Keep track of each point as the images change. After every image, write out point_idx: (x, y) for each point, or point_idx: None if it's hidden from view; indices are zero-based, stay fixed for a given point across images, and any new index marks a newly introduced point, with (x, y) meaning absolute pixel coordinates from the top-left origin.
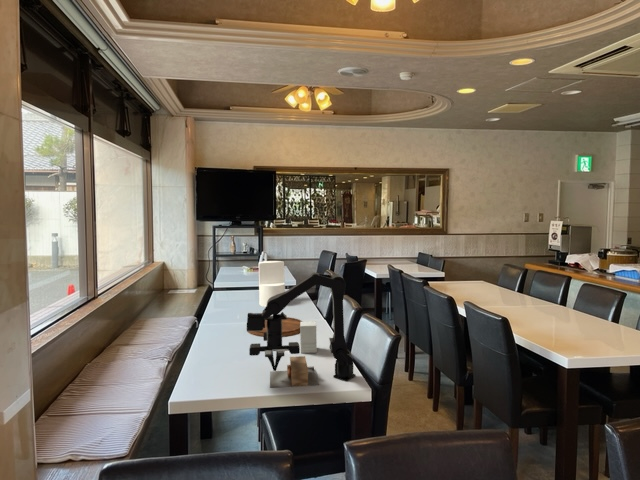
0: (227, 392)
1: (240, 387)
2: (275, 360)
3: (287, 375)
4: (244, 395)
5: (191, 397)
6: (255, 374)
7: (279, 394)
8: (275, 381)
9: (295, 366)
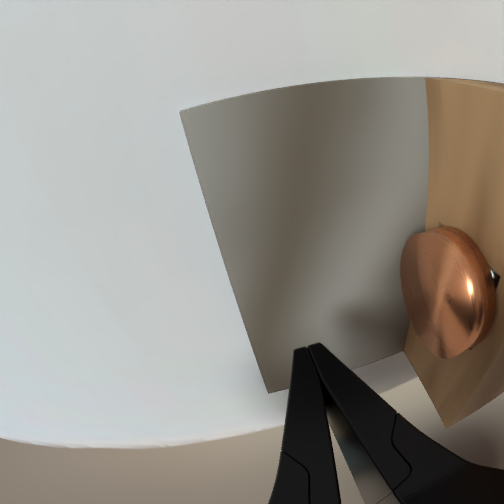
0: (69, 425)
1: (85, 398)
2: (358, 447)
3: (409, 286)
4: (159, 440)
5: (3, 430)
6: (39, 203)
7: None
8: (297, 336)
9: (499, 375)
